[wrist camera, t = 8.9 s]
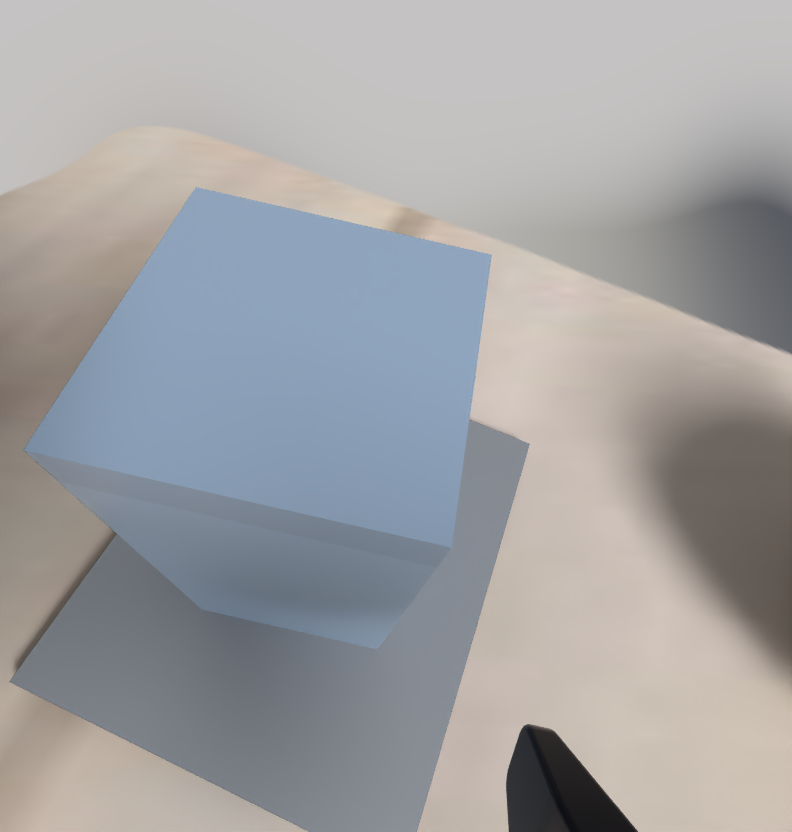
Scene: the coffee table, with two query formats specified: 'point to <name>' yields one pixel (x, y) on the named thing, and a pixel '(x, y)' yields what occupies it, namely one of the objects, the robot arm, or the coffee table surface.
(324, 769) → the flat square base plate
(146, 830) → the coffee table surface
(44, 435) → the tall blue rectangular block
